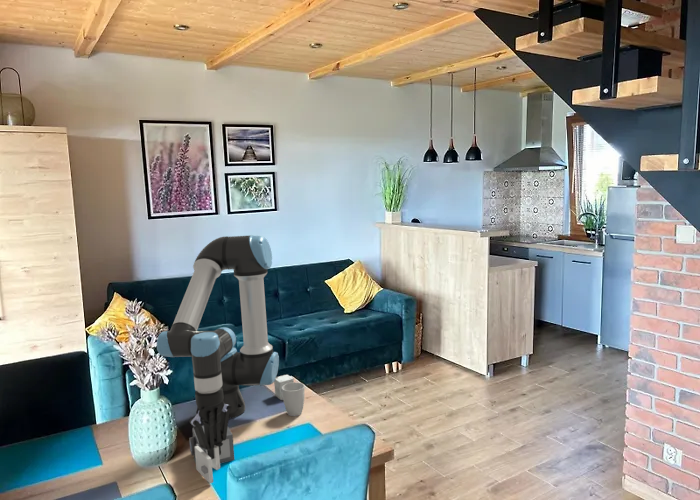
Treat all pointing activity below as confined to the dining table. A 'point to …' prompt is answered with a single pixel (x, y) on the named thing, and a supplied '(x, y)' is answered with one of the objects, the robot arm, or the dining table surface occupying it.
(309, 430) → the dining table surface
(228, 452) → the grey boxy piece
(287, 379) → the skincare box
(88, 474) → the dining table surface
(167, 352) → the robot arm
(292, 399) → the cup
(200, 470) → the side door
